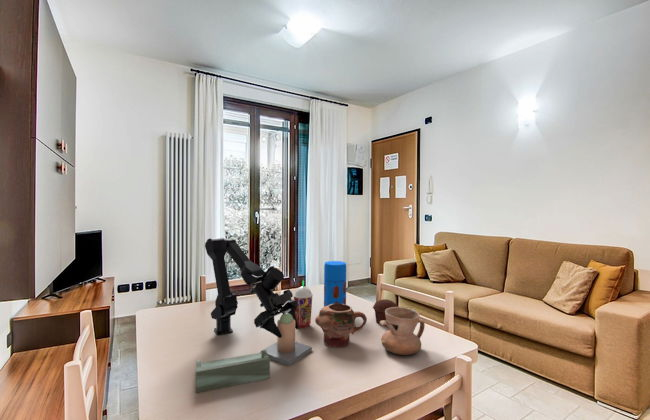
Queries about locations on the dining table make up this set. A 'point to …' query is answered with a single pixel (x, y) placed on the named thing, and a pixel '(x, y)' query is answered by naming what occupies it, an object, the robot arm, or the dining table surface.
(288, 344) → the green ice cream cone
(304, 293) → the smoothie
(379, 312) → the muffin
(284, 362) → the slate pad
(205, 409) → the dining table surface
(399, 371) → the dining table surface
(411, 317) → the ceramic jug
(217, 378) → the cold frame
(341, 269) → the thermos
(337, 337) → the decorative planter
